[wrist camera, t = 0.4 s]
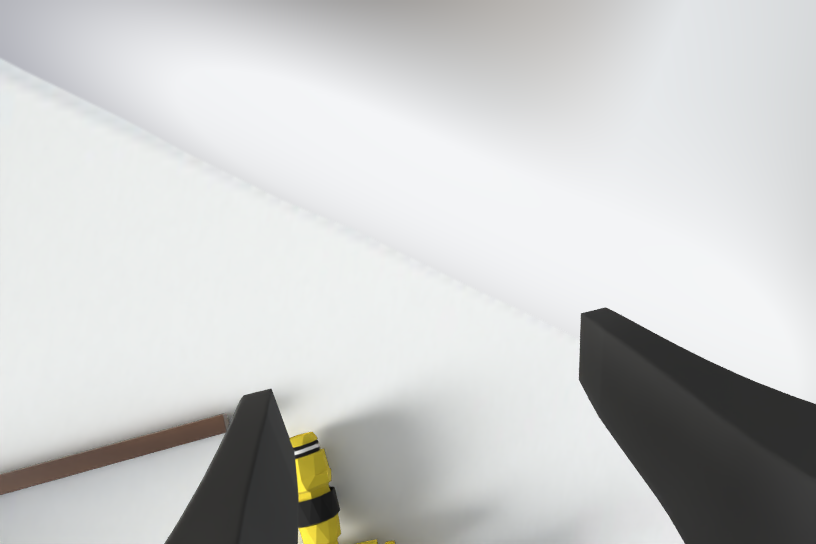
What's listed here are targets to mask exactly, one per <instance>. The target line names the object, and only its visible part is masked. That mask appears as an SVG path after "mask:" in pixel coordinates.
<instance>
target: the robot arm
mask: <svg viewBox="0 0 816 544" xmlns="http://www.w3.org/2000/svg"><path fill="white" fill-rule="evenodd" d="M579 381H580V383H581V384H582V386H583V388H584V390H585V392H586V394H587V396H588V398H589V400H590V402H591V403H592V405H593V407H594V409H595V411H596V412H597V414H598V416H599V418H600V419H601V421H602V422H603V423H604V425H605V426H606V428H607V429H608V430H609V432H610V433H611V435H612V436H613V438H614V439H615V440H616V442H617V443H618V445H619V446H620V447H621V449H622V450H623V451H624V453H625V454H626V456H627V457H628V458H629V460H630V461H631V463H632V464H633V465H634V467H635V468H636V469H637V471H638V472H639V474H640V475H641V476H642V478H643V479H644V481H645V482H646V483H647V485H648V486H649V487H650V489H651V490H652V492H653V493H654V494H655V496H656V497H657V499H658V500H659V502H660V503H661V505H662V506H663V508H664V509H665V511H666V512H667V514H668V515H669V517H670V519H671V520H672V522H673V524H674V525H675V527H676V529H677V531H678V532H679V534H680V536H681V537H682V539H683V541H684V543H685V544H816V404H814V403H811V402H808V401H805V400H802V399H799V398H796V397H794V396H790V395H788V394H786V393H783V392H781V391H778V390H775V389H773V388H770V387H768V386H765V385H762V384H760V383H757V382H755V381H753V380H750V379H748V378H745V377H743V376H741V375H738V374H736V373H734V372H732V371H730V370H727V369H725V368H723V367H721V366H719V365H716V364H714V363H712V362H710V361H708V360H706V359H704V358H702V357H700V356H698V355H696V354H694V353H691V352H690V351H688V350H686V349H684V348H682V347H680V346H678V345H676V344H674V343H672V342H670V341H668V340H666V339H664V338H663V337H660V336H659V335H657V334H655V333H653V332H651V331H650V330H647V329H646V328H644V327H642V326H640V325H638V324H637V323H635V322H633V321H631V320H629V319H627V318H625V317H624V316H622V315H620V314H618V313H616V312H614V311H612V310H610V309H608V308H602V309H597V310H594V311H589V312H585V313H581V330H580V362H579ZM298 503H299V495H298V483H297V472H296V462H295V452H294V449H293V447H292V444H291V441H290V438H289V436H288V433H287V430H286V427H285V425H284V422H283V419H282V416H281V414H280V411H279V408H278V406H277V403H276V400H275V397H274V395H273V392H272V389H268V390H264V391H260V392H256V393H252V394H247V395H244V396H243V397H242V398H241V400H240V402H239V404H238V406H237V409H236V411H235V413H234V415H233V418H232V420H231V422H230V424H229V427H228V429H227V431H226V433H225V435H224V437H223V440H222V442H221V444H220V446H219V448H218V450H217V452H216V454H215V456H214V458H213V460H212V462H211V464H210V466H209V468H208V470H207V472H206V474H205V476H204V477H203V479H202V481H201V483H200V485H199V487H198V488H197V490H196V492H195V494H194V495H193V497H192V499H191V501H190V502H189V504H188V506H187V508H186V509H185V511H184V513H183V515H182V516H181V518H180V520H179V521H178V523H177V525H176V526H175V528H174V529H173V531H172V533H171V534H170V536H169V537H168V539H167V540H166V542H165V543H164V544H298Z"/></svg>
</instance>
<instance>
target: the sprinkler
mask: <svg viewBox="0 0 816 544" xmlns="http://www.w3.org/2000/svg"><path fill="white" fill-rule="evenodd" d="M290 441H291V444H292V447H293V449H294V452H295V462H296V472H297V483H298V495H299V503H298V527H299V531H300V534H301V537H302V540H303V543H304V544H338V541H337V539H338V536H339V535H340V534H341V530H340V523H339V517H338V512H339V511H340V508H339V503H338V499H337V495H336V491H335V487H329V484H328V483H329V482H330V481H331V468H329V465H328V462H327V458H326V454H325V451H324V449H320V445H319V442H318V440H317V437H316V435H315V434H314V433H313V432H308V433H304V434H300V435H297V436H294V437H291V438H290ZM356 544H378V542H377V539H375V540H370V541H366V542H361V543H356ZM385 544H395V541H388V542H386V543H385Z"/></svg>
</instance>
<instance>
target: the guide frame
mask: <svg viewBox="0 0 816 544" xmlns="http://www.w3.org/2000/svg"><path fill="white" fill-rule="evenodd" d="M228 427H229V420H228V416H227V413H224V414H220V415H216V416H213V417H209V418H205V419H202V420H198V421H194V422H191V423H187V424H183V425H180V426H176V427H172V428H168V429H165V430H161V431H157V432H154V433H150V434H146V435H143V436H139V437H135V438H132V439H128V440H124V441H120V442H117V443H113V444H109V445H106V446H102V447H98V448H95V449H91V450H87V451H84V452H80V453H76V454H72V455H69V456H65V457H61V458H58V459H54V460H50V461H47V462H43V463H39V464H36V465H32V466H28V467H24V468H21V469H17V470H13V471H10V472H6V473H2V474H0V495H2V494H6V493H9V492H13V491H17V490H20V489H24V488H28V487H31V486H35V485H38V484H42V483H46V482H49V481H53V480H56V479H60V478H64V477H67V476H71V475H74V474H78V473H82V472H85V471H89V470H92V469H96V468H100V467H103V466H107V465H110V464H114V463H118V462H121V461H125V460H128V459H132V458H136V457H139V456H143V455H146V454H150V453H154V452H157V451H161V450H165V449H168V448H172V447H175V446H179V445H183V444H186V443H190V442H193V441H197V440H201V439H204V438H208V437H211V436H215V435H219V434H222V433H226V431H227V429H228Z"/></svg>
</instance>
